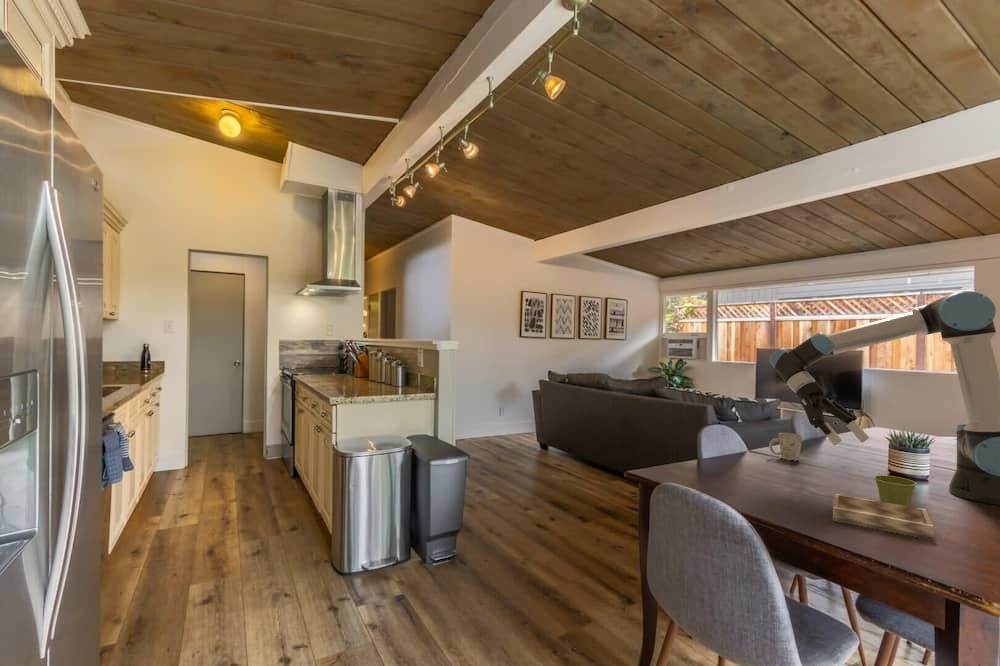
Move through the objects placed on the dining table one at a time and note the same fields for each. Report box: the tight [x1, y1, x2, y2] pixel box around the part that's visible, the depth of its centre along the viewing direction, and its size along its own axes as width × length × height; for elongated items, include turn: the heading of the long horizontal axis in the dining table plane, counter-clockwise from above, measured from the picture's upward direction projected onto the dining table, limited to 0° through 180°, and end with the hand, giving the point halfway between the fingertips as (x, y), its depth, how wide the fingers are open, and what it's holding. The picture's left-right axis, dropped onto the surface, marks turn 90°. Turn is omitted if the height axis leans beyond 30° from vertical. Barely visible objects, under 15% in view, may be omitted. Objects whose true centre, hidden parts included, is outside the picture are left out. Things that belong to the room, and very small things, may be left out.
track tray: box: [832, 493, 935, 542], centre depth 125 cm, size 20×15×4 cm
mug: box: [768, 432, 803, 462], centre depth 192 cm, size 8×13×10 cm, turn 89°
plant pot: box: [873, 474, 918, 507], centre depth 135 cm, size 9×9×9 cm
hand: (852, 441), depth 145 cm, fingers open, 13 cm apart
